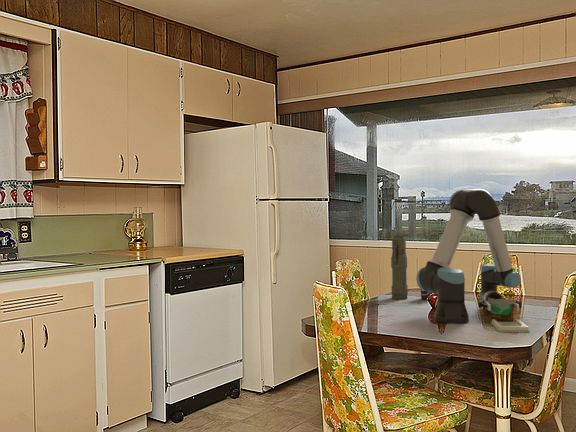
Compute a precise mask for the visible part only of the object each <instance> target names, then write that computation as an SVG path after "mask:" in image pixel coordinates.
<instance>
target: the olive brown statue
mask: <svg viewBox="0 0 576 432" xmlns="http://www.w3.org/2000/svg"><path fill="white" fill-rule="evenodd" d="M391 250H392V253H391V257H390V260H391V261H390V262H391V263H390V264H391V272H392V273H391V276H392V277H391V278H392V284H391V299H393V300H397V301H400V300H401V301H403V300H408V299H409V298H408V294H409V292H408V291H409V289H408V285H407V284H408V282H407V277H408V276H407V268H408V256H407V252H406V250H407V240H406V238H405V236H403V235H394V236H393V237H392V241H391Z"/></svg>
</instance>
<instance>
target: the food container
mask: <svg viewBox="0 0 576 432" xmlns="http://www.w3.org/2000/svg"><path fill="white" fill-rule="evenodd" d="M505 299H506V298H503V299H491V298H488V301H487V302H488V303H489V304H490V305H491V311H489V312H490V319H491V321H492V319H495V320H496V321H497V322H514V313H515V309H514V304H515V303H516V302H515V301H516V299H515V298H513V299H512V298H509V299H510V300H508V299H506V300H505Z"/></svg>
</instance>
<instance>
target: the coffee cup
mask: <svg viewBox="0 0 576 432" xmlns="http://www.w3.org/2000/svg"><path fill="white" fill-rule="evenodd" d="M419 289H420V288H419ZM430 294H432V293H428V292H426V291H423V290H422V289H420V296H421V297H420V299H421V300H423V301H428V300H427V298H428V296H429V295H430Z"/></svg>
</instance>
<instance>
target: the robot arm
mask: <svg viewBox="0 0 576 432" xmlns="http://www.w3.org/2000/svg"><path fill="white" fill-rule="evenodd" d="M448 200H449V202H448V204H449V215H450V217H449V219H448V220H447V221H448V222H447V224H446V227H445V229H444V231H443V233H442V236H441V238H440V240H439V242H438V244H437V247H436V250H435V251H434V254H433V256H432V259H430V260H427V262H426V265H425V266H424V267H422V268H420V269H419V270H418V271H417V273H416V278H415V279H416V283H417V284H416V285H417V286H418V288H419V289H422V290H423V291H426V292H428V293H434V295H437V298H438V299H437V305H436V309H435V311H434V315H433V317H434V321H436V322H438V323H442V324H465V323H469V321H470V317H469V313H468V309H467V307H466V304H465V301H466V300H465V291H466V290H465V289H466V288H465V285H466V284H465V281H466V279H465V273H464V272H463V270H461V269H458V268H457V267H456V268H455V267H450V265H451V263H452V260H453V258H454V256H455V255H456V251H457V249H458V247H459V244H460V241H461V239H462V237H463V235H464V233H465V230H466V228H467V225H468V223H470V222H472V221H473V220H474V218H475V215H477V216H478V221H480V222H482V225H483V228H484V233H485V236H486V239H487V243H488V246H489V251H490V253H491V257H492V260H493V263H492V264H488V263H487V264H486V263H485V264H483V265H482V264H481V268H480V291H479V298H480V300H479V301H478V308H480V309H481V308H482V309H483V310H487V311H489V312H490V311H491V305H490V304H489V303H488V302H487V301H488V298H491V299H505V300H510V299H511V298H508V299H506V298H503V296H502V295H501V294H500V293H498V286H499V287H505V288H511V289H515V288H517V287H519V286H520V284H521V282H522V280H521V278H522V277H521V275H520V274H519V273H518V272H516V271H515V270H514V268H513V264H512V261H511V257H510V254H509V250H508V246H507V242H506V238H505V235H504V231H503V227H502V223H501V221H500V217H501V212H500V208H499V207H498V203H497V202H496V200H495V198H494V197H493V196H492V194H491V193H489V192H488V191H487V190H486V189H482V188H476V189H474V188H473V189H466V188H465V189H464V188H463V189H461V190H456V191H455V192H453V193H452V194H451V196H450V198H449V199H448ZM515 302H516V303H515V304H514V311H515V310H516V311H517V312H519V311H520V309H521V308H522V302H521V301H518V300H515Z"/></svg>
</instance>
